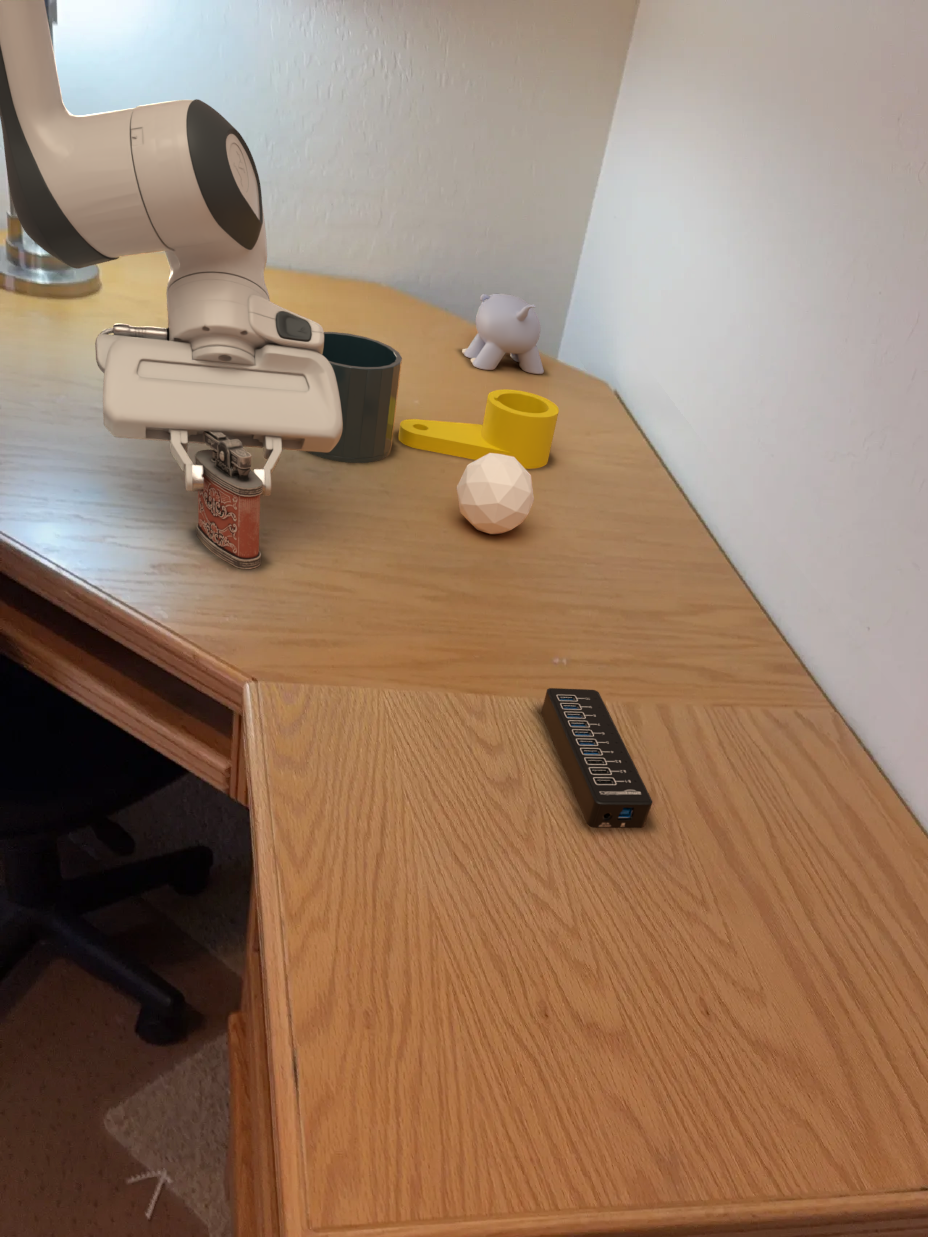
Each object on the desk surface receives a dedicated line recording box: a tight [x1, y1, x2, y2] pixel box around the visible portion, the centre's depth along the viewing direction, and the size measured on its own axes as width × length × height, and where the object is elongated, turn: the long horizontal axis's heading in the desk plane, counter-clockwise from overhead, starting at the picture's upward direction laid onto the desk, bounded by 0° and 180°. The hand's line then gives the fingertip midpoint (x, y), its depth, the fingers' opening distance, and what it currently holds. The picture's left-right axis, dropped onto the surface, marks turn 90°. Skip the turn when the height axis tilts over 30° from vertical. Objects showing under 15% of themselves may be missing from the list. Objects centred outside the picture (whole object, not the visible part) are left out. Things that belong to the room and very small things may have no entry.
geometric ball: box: [455, 453, 535, 535], centre depth 107 cm, size 8×8×8 cm
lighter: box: [194, 431, 263, 570], centre depth 93 cm, size 8×3×10 cm, turn 43°
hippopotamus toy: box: [461, 293, 545, 375], centre depth 149 cm, size 11×15×10 cm
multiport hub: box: [540, 687, 653, 829], centre depth 80 cm, size 4×14×2 cm, turn 12°
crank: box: [397, 388, 560, 470], centre depth 123 cm, size 18×8×6 cm, turn 97°
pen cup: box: [305, 331, 403, 464], centre depth 116 cm, size 11×11×10 cm
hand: (229, 491), depth 92 cm, fingers closed on lighter, 4 cm apart
